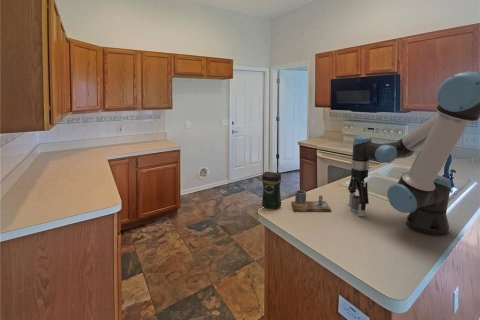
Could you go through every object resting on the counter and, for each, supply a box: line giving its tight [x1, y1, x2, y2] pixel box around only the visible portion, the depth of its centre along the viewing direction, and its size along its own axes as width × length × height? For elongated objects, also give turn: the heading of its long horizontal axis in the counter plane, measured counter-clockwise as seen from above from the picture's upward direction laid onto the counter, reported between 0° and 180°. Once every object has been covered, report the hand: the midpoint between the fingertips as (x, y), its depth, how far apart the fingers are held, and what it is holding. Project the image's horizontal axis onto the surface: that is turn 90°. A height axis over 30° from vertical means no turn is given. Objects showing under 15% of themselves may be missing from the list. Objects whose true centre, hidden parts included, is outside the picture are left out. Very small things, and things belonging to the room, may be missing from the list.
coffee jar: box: [261, 171, 282, 210], centre depth 139 cm, size 10×8×19 cm
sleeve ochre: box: [294, 189, 307, 207], centre depth 137 cm, size 6×6×7 cm
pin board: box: [291, 194, 332, 213], centre depth 137 cm, size 18×10×7 cm, turn 87°
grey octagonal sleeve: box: [349, 194, 360, 214], centre depth 133 cm, size 6×6×7 cm
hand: (356, 210), depth 133 cm, fingers open, 12 cm apart
